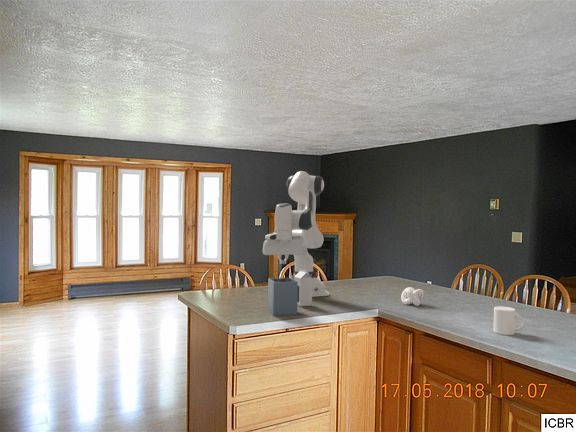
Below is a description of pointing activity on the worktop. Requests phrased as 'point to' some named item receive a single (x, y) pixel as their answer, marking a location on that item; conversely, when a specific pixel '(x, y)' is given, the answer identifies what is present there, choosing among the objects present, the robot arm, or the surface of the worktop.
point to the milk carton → (304, 288)
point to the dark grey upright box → (283, 296)
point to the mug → (506, 321)
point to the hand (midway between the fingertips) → (282, 263)
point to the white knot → (412, 296)
